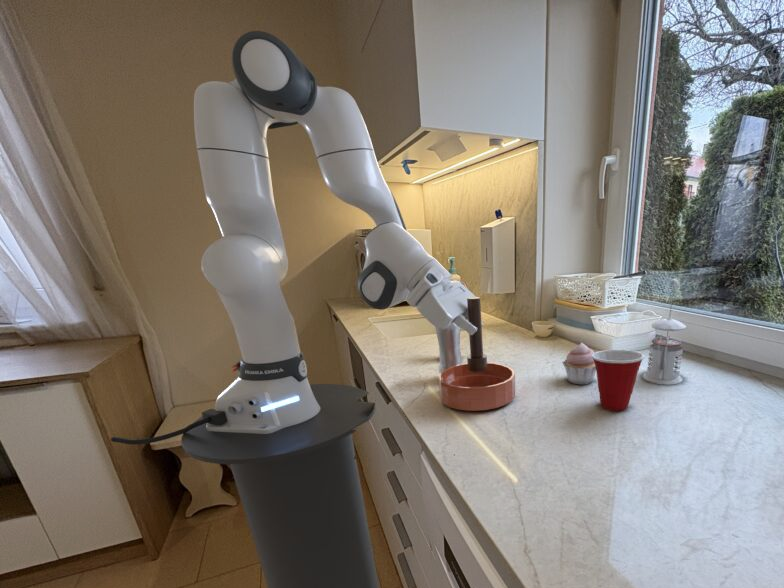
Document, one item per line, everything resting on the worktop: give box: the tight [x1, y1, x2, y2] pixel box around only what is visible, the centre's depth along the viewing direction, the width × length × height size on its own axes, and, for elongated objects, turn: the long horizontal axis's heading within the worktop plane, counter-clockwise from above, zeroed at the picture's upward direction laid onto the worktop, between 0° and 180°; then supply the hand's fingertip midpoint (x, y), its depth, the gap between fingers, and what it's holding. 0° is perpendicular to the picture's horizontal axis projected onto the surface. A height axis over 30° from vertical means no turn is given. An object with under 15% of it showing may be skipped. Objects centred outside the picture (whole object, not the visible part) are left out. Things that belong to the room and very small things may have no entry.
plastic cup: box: [592, 349, 645, 412], centre depth 88 cm, size 11×11×12 cm
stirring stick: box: [466, 296, 488, 372], centre depth 90 cm, size 4×4×16 cm
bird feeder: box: [642, 278, 687, 386], centre depth 101 cm, size 10×12×25 cm
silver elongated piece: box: [434, 323, 464, 375], centre depth 104 cm, size 6×7×20 cm
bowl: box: [437, 362, 516, 412], centre depth 94 cm, size 17×17×6 cm
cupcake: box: [562, 342, 597, 385], centre depth 103 cm, size 9×9×10 cm
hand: (477, 330), depth 90 cm, fingers closed on stirring stick, 3 cm apart
